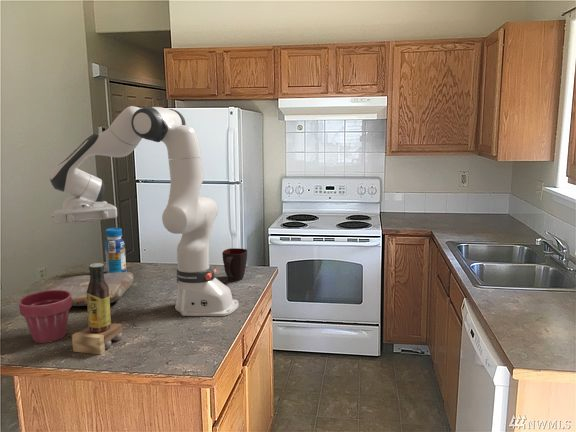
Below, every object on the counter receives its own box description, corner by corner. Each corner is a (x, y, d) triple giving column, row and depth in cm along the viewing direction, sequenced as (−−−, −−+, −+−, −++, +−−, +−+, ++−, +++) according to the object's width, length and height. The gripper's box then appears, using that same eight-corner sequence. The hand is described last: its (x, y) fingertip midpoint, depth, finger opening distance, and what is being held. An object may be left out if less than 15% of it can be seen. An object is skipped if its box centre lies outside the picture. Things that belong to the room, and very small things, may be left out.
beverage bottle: (103, 273, 214) (99, 229, 211) (120, 269, 220) (117, 226, 217) (113, 277, 209) (109, 232, 205) (130, 273, 215) (127, 228, 212)
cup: (250, 276, 209) (250, 249, 207) (239, 286, 196) (238, 257, 194) (229, 274, 212) (228, 247, 210) (216, 284, 199) (215, 255, 196)
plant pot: (27, 351, 140) (22, 309, 138) (19, 335, 151) (15, 295, 149) (79, 338, 148) (76, 298, 146) (69, 324, 159) (65, 286, 157)
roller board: (123, 337, 148) (122, 322, 147) (100, 354, 137) (99, 337, 137) (97, 335, 150) (96, 320, 149) (73, 351, 140) (71, 335, 139)
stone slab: (136, 283, 201) (135, 269, 200) (126, 308, 173) (124, 291, 172) (56, 288, 196) (55, 274, 195) (33, 315, 168) (31, 298, 167)
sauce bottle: (85, 329, 144) (79, 264, 141) (105, 323, 148) (101, 260, 145) (94, 335, 140) (89, 268, 136) (115, 329, 144) (110, 264, 140)
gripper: (48, 205, 166) (55, 211, 155) (110, 200, 177) (120, 205, 166) (50, 223, 167) (57, 230, 156) (111, 217, 178) (122, 223, 167)
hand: (90, 217), depth 161 cm, fingers open, 8 cm apart
